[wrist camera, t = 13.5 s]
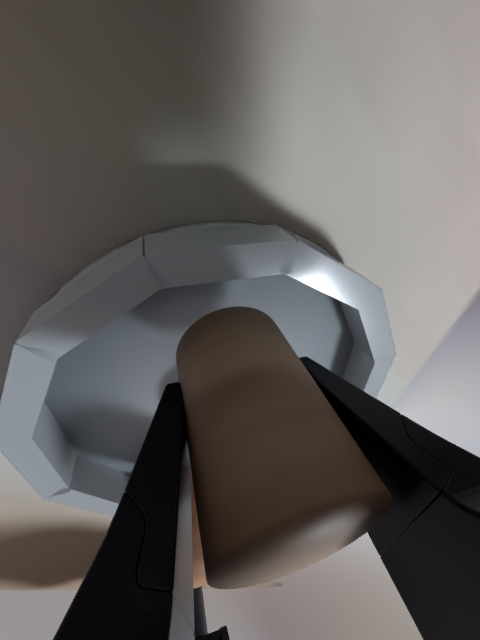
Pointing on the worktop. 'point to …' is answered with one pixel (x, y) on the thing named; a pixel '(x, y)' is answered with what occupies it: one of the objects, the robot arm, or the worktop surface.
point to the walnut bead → (267, 454)
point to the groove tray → (167, 344)
